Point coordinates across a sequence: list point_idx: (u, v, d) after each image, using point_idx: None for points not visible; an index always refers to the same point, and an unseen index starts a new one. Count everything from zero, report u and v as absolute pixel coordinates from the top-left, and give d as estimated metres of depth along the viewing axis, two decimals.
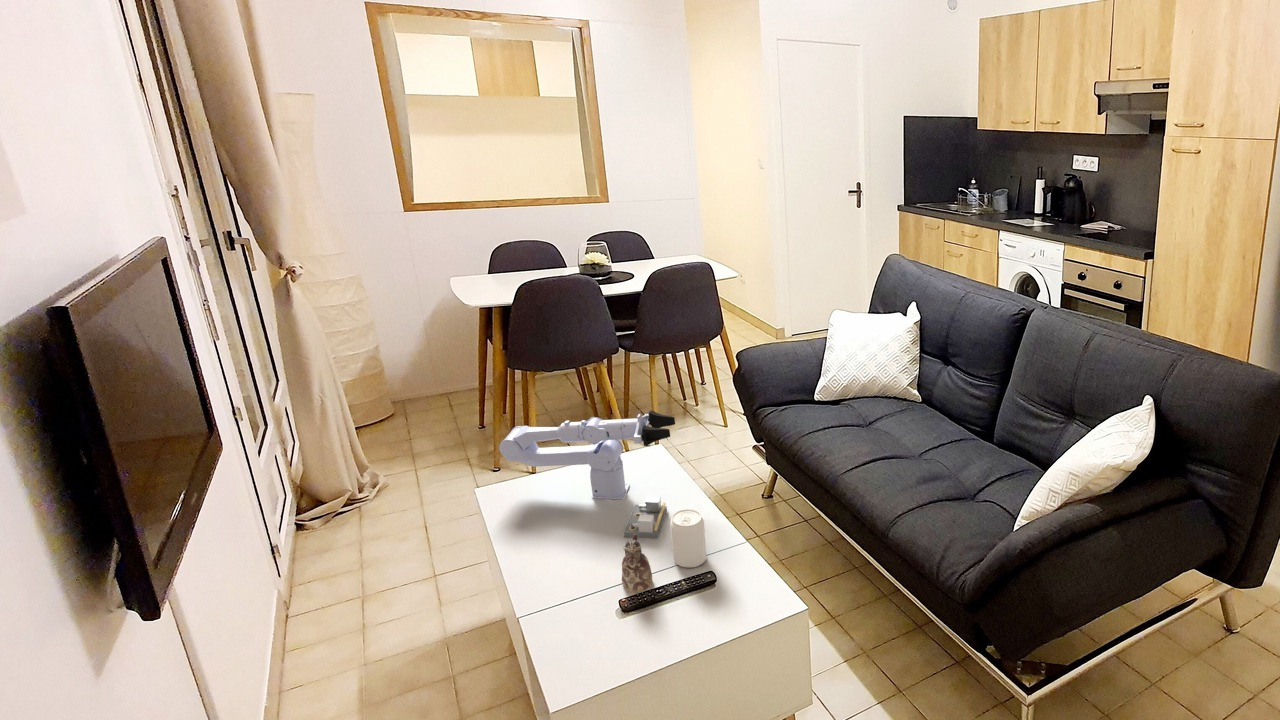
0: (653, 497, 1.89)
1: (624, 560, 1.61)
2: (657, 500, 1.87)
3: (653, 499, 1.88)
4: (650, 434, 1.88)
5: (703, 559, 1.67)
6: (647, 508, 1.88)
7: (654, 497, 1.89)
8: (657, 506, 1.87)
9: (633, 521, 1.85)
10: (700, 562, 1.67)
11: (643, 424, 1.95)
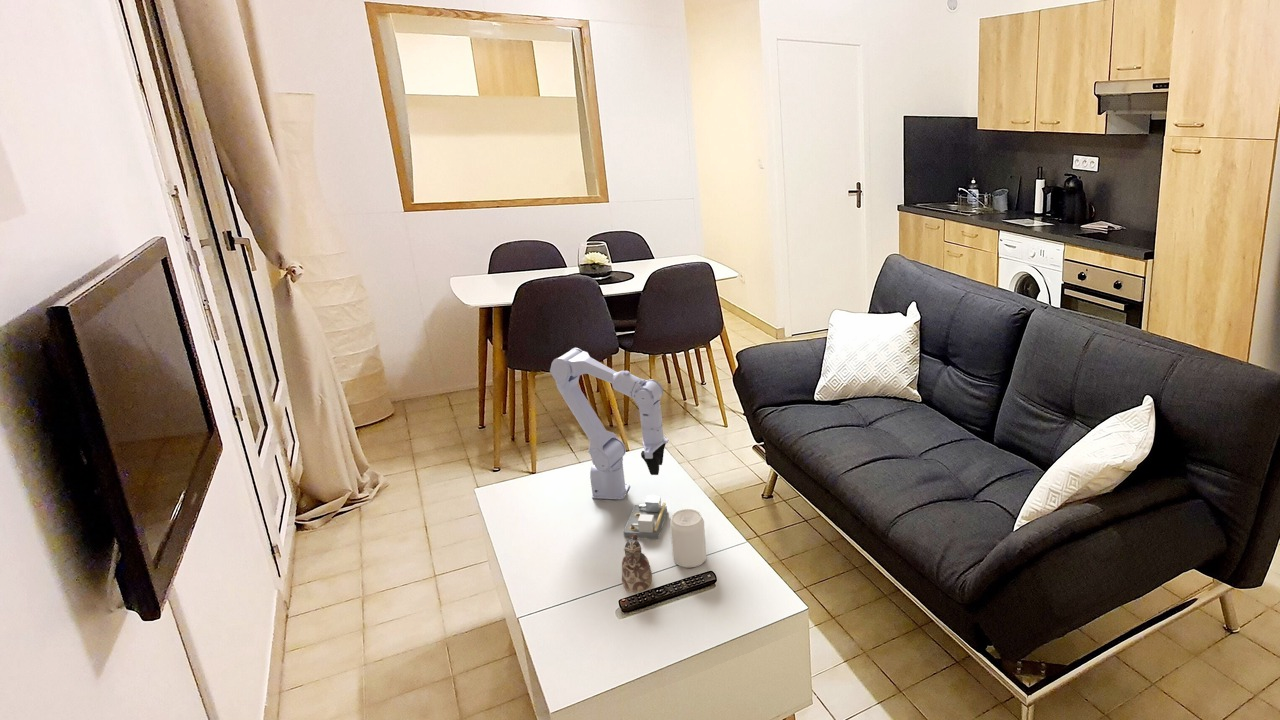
0: (653, 497, 1.89)
1: (624, 560, 1.61)
2: (657, 500, 1.87)
3: (653, 499, 1.88)
4: (652, 458, 1.87)
5: (703, 559, 1.67)
6: (647, 508, 1.88)
7: (654, 497, 1.89)
8: (657, 506, 1.87)
9: (633, 521, 1.85)
10: (700, 562, 1.67)
11: None
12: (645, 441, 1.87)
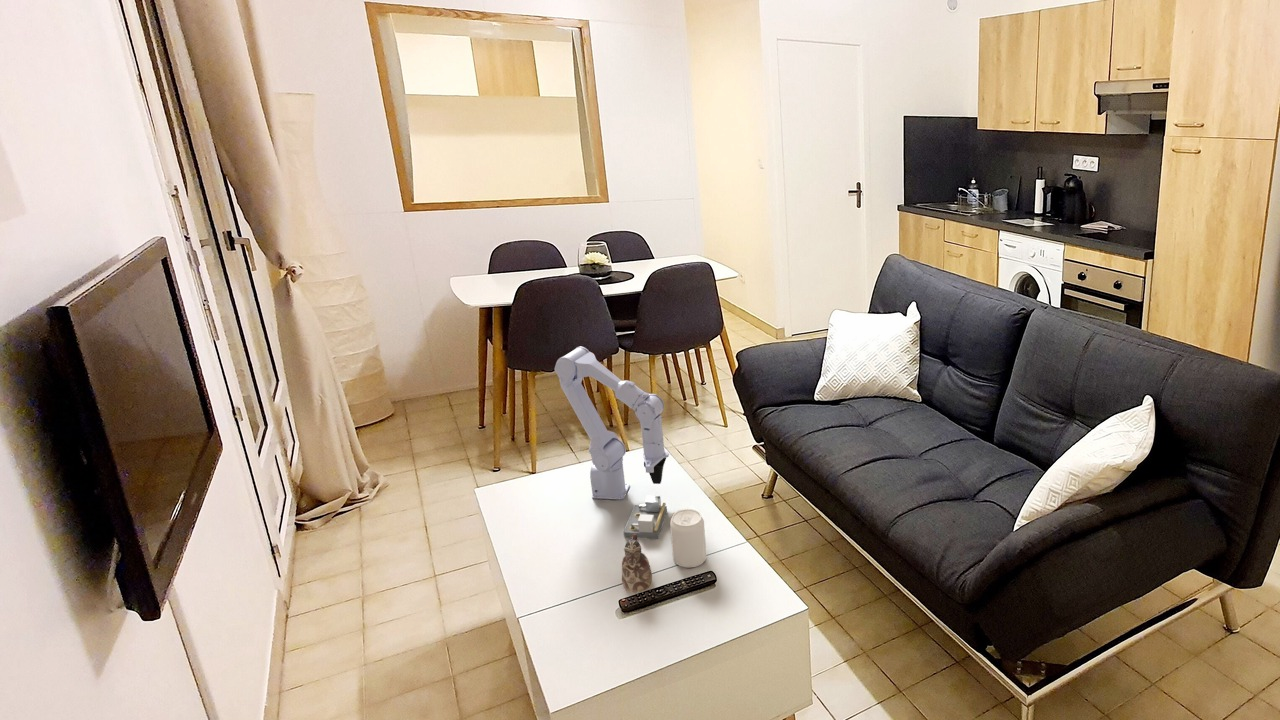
0: (653, 497, 1.89)
1: (624, 560, 1.61)
2: (657, 500, 1.87)
3: (653, 499, 1.88)
4: (655, 467, 1.91)
5: (703, 559, 1.67)
6: (647, 508, 1.88)
7: (654, 497, 1.89)
8: (657, 506, 1.87)
9: (633, 521, 1.85)
10: (700, 562, 1.67)
11: None
12: (646, 455, 1.89)
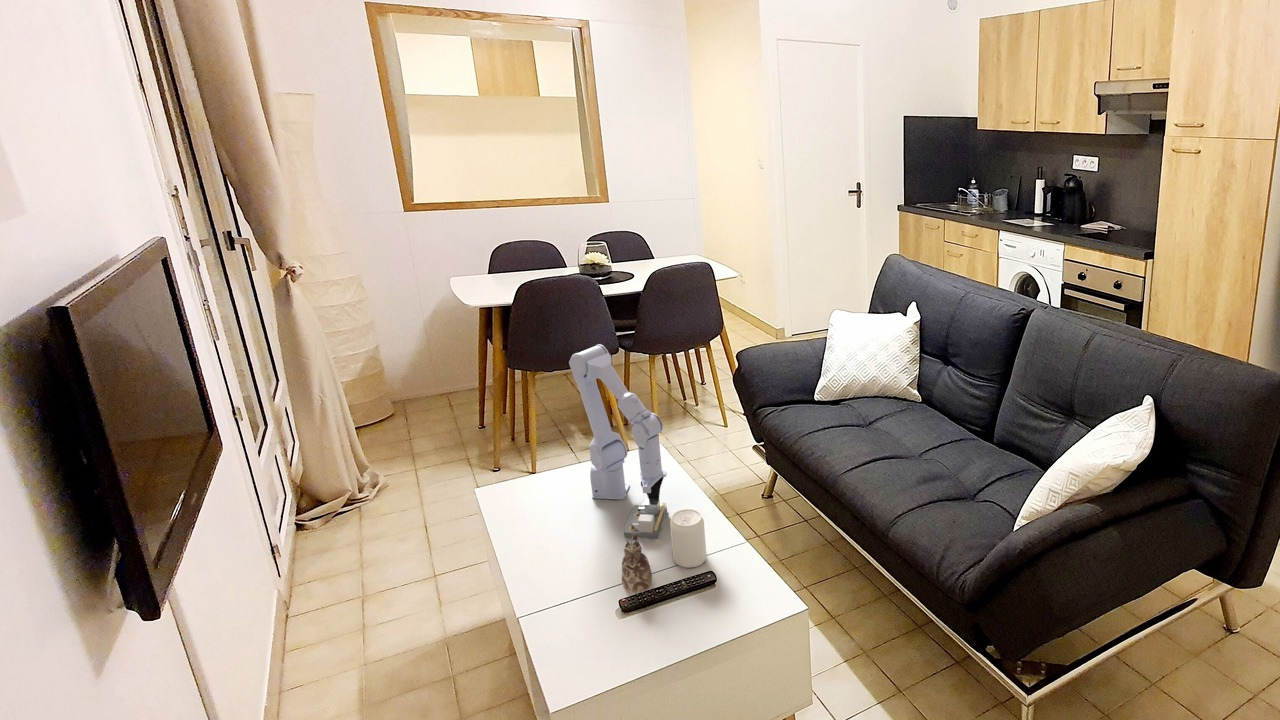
0: (652, 500, 1.88)
1: (624, 560, 1.61)
2: (656, 503, 1.86)
3: (652, 502, 1.87)
4: (652, 487, 1.88)
5: (703, 559, 1.67)
6: (646, 511, 1.87)
7: (653, 500, 1.88)
8: (656, 509, 1.86)
9: (633, 521, 1.85)
10: (700, 562, 1.67)
11: None
12: (643, 475, 1.85)
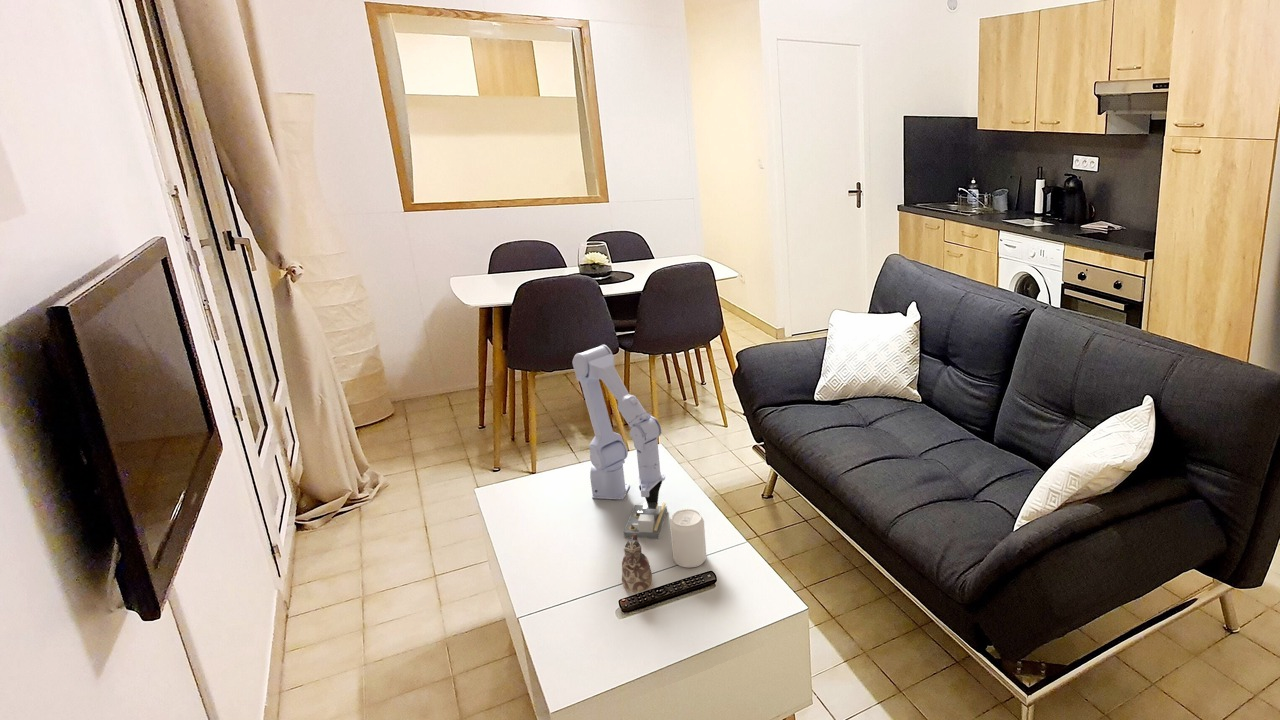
0: (650, 504, 1.86)
1: (624, 560, 1.61)
2: (655, 507, 1.85)
3: (650, 506, 1.85)
4: (651, 490, 1.86)
5: (703, 559, 1.67)
6: None
7: (651, 503, 1.86)
8: (655, 513, 1.84)
9: (633, 521, 1.85)
10: (700, 562, 1.67)
11: None
12: (641, 478, 1.83)
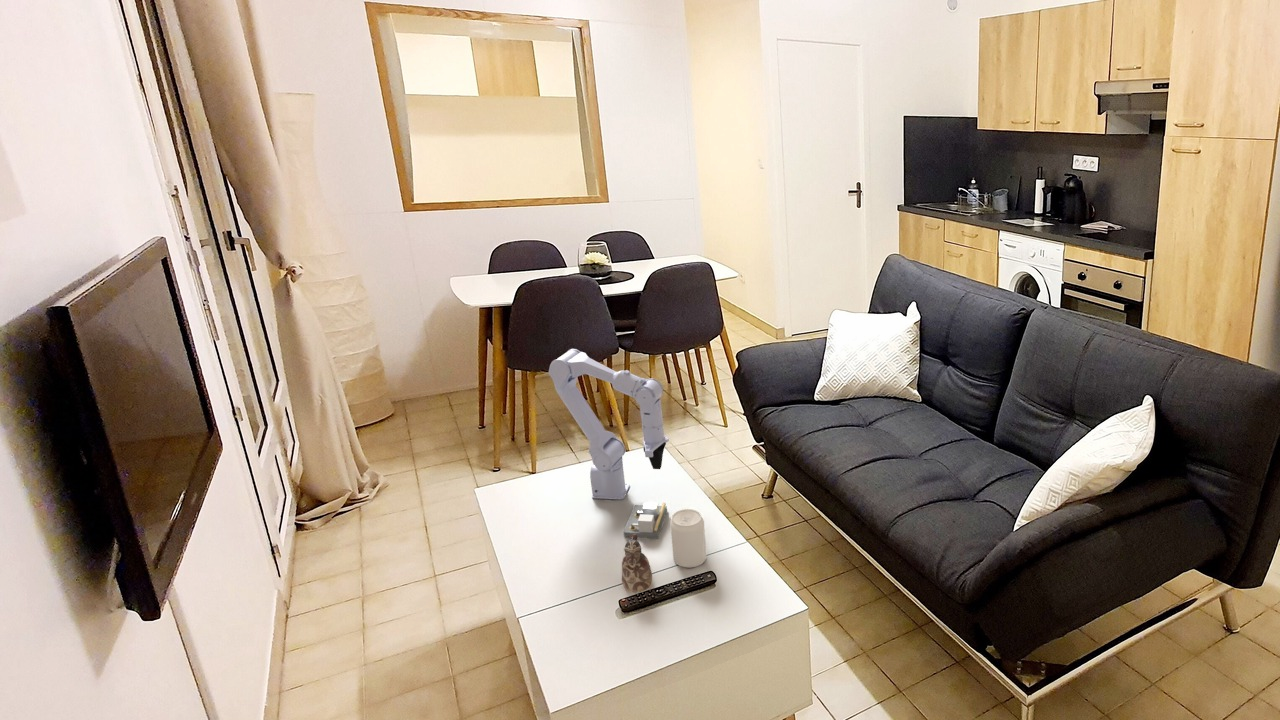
0: (650, 504, 1.86)
1: (624, 560, 1.61)
2: (655, 507, 1.85)
3: (650, 506, 1.85)
4: (655, 452, 1.91)
5: (703, 559, 1.67)
6: None
7: (651, 503, 1.86)
8: (655, 513, 1.84)
9: (633, 521, 1.85)
10: (700, 562, 1.67)
11: None
12: (646, 440, 1.88)
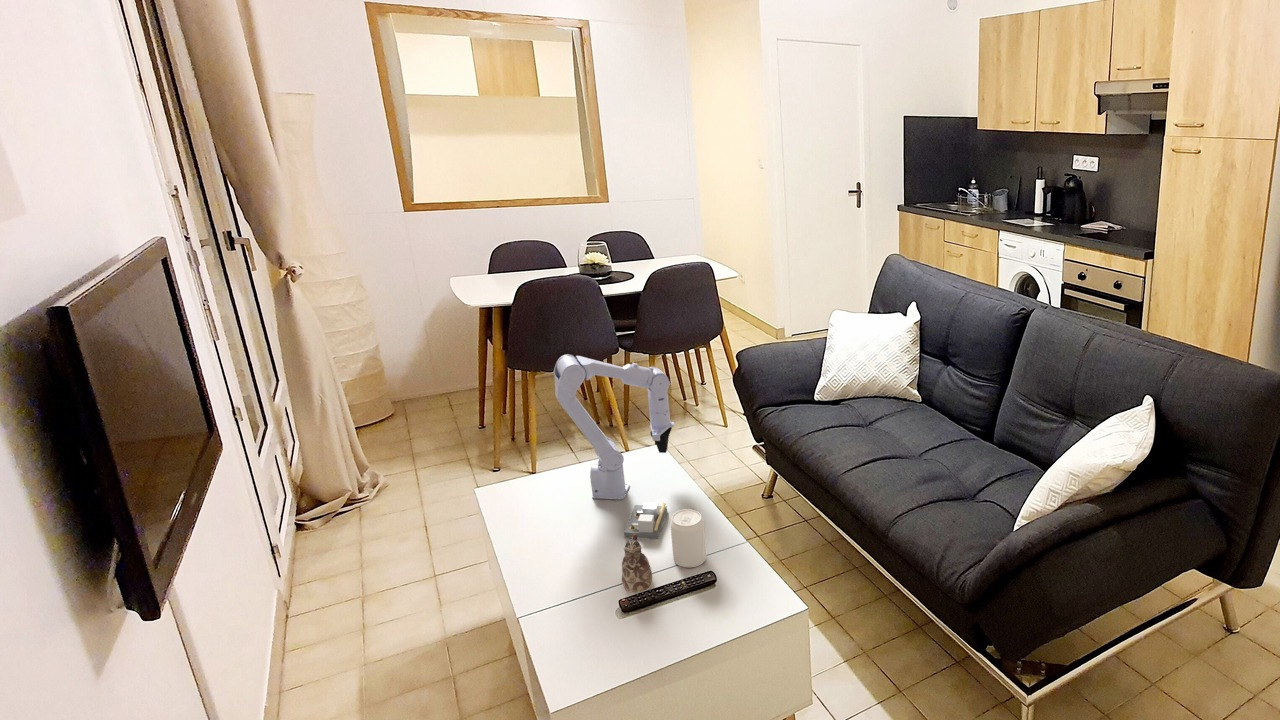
0: (650, 504, 1.86)
1: (624, 560, 1.61)
2: (655, 507, 1.85)
3: (650, 506, 1.85)
4: (661, 436, 2.01)
5: (703, 559, 1.67)
6: None
7: (651, 503, 1.86)
8: (655, 513, 1.84)
9: (633, 521, 1.85)
10: (700, 562, 1.67)
11: None
12: (653, 424, 1.99)
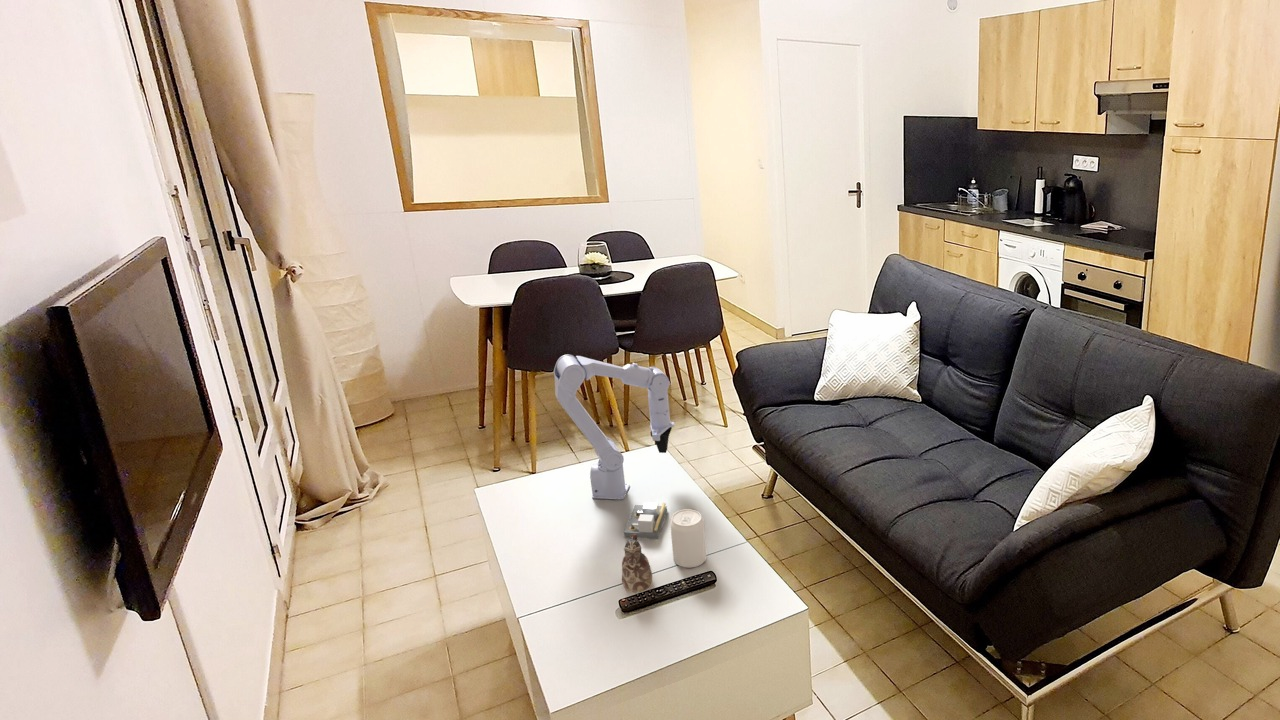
0: (650, 504, 1.86)
1: (624, 560, 1.61)
2: (655, 507, 1.85)
3: (650, 506, 1.85)
4: (661, 436, 2.01)
5: (703, 559, 1.67)
6: None
7: (651, 503, 1.86)
8: (655, 513, 1.84)
9: (633, 521, 1.85)
10: (700, 562, 1.67)
11: None
12: (653, 424, 1.99)
